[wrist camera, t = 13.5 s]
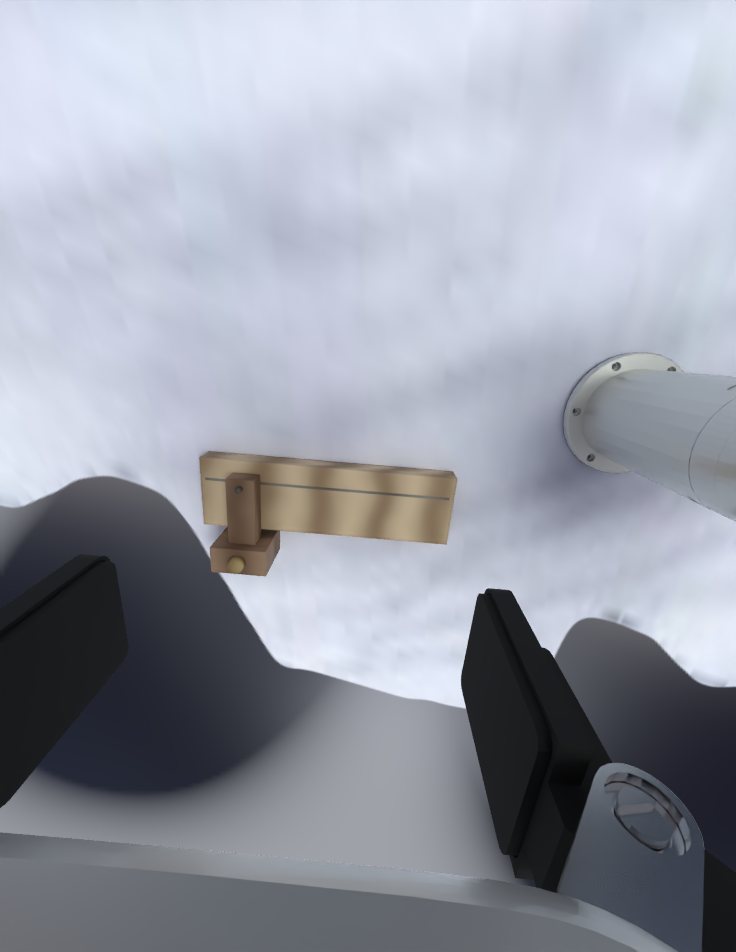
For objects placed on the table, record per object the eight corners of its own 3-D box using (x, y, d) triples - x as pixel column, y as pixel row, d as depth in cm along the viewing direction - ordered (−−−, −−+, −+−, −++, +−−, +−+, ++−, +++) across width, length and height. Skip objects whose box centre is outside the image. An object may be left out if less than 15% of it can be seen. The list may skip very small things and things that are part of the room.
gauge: (279, 468, 44) (261, 490, 37) (279, 552, 47) (263, 585, 41) (228, 464, 44) (200, 485, 37) (232, 548, 47) (207, 580, 41)
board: (452, 471, 43) (457, 478, 41) (443, 534, 46) (446, 544, 43) (209, 451, 43) (199, 457, 41) (213, 514, 46) (204, 524, 44)
